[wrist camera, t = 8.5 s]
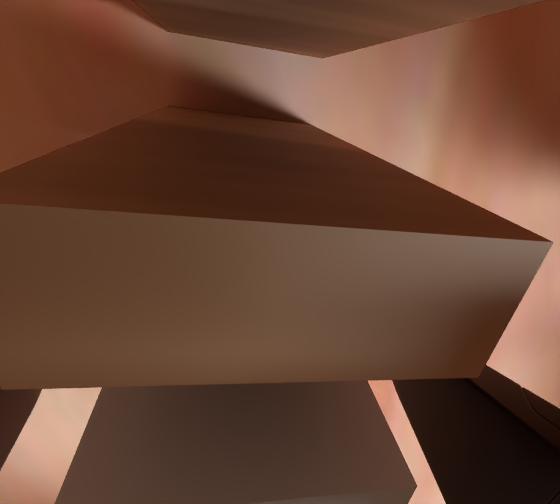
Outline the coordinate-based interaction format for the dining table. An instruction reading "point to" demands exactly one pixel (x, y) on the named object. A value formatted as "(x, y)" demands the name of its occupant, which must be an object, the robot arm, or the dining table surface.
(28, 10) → the dining table surface
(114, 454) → the domino
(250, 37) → the domino
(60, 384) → the domino
